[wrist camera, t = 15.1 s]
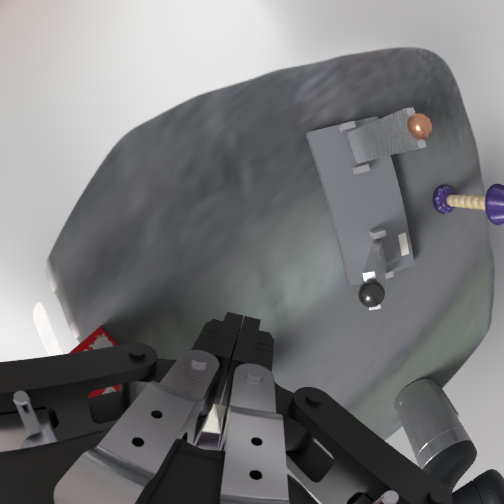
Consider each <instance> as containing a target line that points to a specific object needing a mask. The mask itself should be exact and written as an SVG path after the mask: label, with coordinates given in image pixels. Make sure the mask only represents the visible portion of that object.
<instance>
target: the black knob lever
mask: <svg viewBox="0 0 504 504" xmlns="http://www.w3.org/2000/svg"><path fill="white" fill-rule="evenodd" d="M386 273H387V263H386V258H385V252H384V247H383V242H382V239H381V238H378V239H375V240H373V242H372V246H371V249H370V252H369V255H368V259H367V262H366V265H365V268H364V271H363V278H364V283H363V284H362V285H361V287H360V289H359V293H358V296H359V300H360V302H361V303H362V304H363V305H364V306H366V307H369V310H374V309H381V305H382V301H383V299H384V296H385V291H384V287H385V280H386Z"/></svg>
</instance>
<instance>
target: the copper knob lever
mask: <svg viewBox="0 0 504 504" xmlns="http://www.w3.org/2000/svg"><path fill="white" fill-rule="evenodd" d="M432 132H433V125H432V122H431V120H430V119H429V118H428V117H427V116H426V115H424V114H421V113H415V111H414V108H405V109H402V110H400V111H397V112H395V113H393V114H390V115H388V116H385V117H383V118H381V119H378V120H376V121H374V122H371V123H369V124H367V125H364V126H362V127H360V128H358V129H355V130H353V131H351V132H349V133H347V136H348V139H349V142H350V145H351V148H352V152H353V155H354V158H355V161H356V164H358V163H362V162H366V161H370V160H374V159H378V158H382V157H386V156H390V155H394V154H398V153H402V152H407V151H411V150H415V149H420V148H424V147H426V144H425V141H424V140H425V139H427V138H429V137H430V136H431V134H432Z"/></svg>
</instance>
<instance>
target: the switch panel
mask: <svg viewBox="0 0 504 504" xmlns="http://www.w3.org/2000/svg"><path fill="white" fill-rule="evenodd" d="M376 120H378V116H376V117H371V118H366V119H361V120H357V121H352V122H347V123H343V124H339V125H335V126H331V127H327V128H323V129H319V130H315V131H311V132H307V134H306V137H307V140H308V143H309V146H310V148H311V151H312V154H313V158H314V161H315V164H316V167H317V170H318V173H319V176H320V180H321V183H322V186H323V189H324V193H325V196H326V200H327V203H328V207H329V210H330V214H331V217H332V221H333V225H334V228H335V232H336V236H337V240H338V244H339V248H340V252H341V256H342V260H343V264H344V269H345V273H346V277H347V282H348V283H349V285H350V286H354V285H357V284H361V283H364V278H363V271H364V268H365V265H366V262H367V259H368V255H369V252H370V249H371V246H372V242H373V240H375V239H378V238H381V239H382V242H383V247H384V252H385V258H386V263H387V273H386V279H388V278H391V277H394V275H393V273H394V272H397V271H400V270H403V269H406V268H409V267H411V266H414V259H413V252H412V246H411V240H410V234H409V229H408V224H407V219H406V214H405V209H404V205H403V201H402V196H401V192H400V188H399V184H398V180H397V176H396V173H395V169H394V165H393V162H392V159H391V155H390V156H386V157H382V158H378V159H374V160H370V161H366V162H362V163H358V164H356V161H355V158H354V155H353V152H352V148H351V145H350V142H349V139H348V136H347V133H349V132H351V131H353V130H355V129H358V128H360V127H362V126H364V125H367V124H369V123H371V122H374V121H376Z"/></svg>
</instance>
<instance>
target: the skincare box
mask: <svg viewBox="0 0 504 504" xmlns="http://www.w3.org/2000/svg"><path fill="white" fill-rule="evenodd" d="M226 382H227V381H226ZM225 387H226V384H225ZM224 391H225V388H224ZM224 391H223V394H222V398H221V401H220V404H219V405H218V404H215V403H214V404H213V407H212V410H211V411H210V413H209V417H208V420H207V422H206V424H205V426H204V428H203V430H202V432H209V433H220V430H221V424H222V419H223V416H224V411H225V407H226V406H223V405H221V404H222V399H223V395H224Z"/></svg>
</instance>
